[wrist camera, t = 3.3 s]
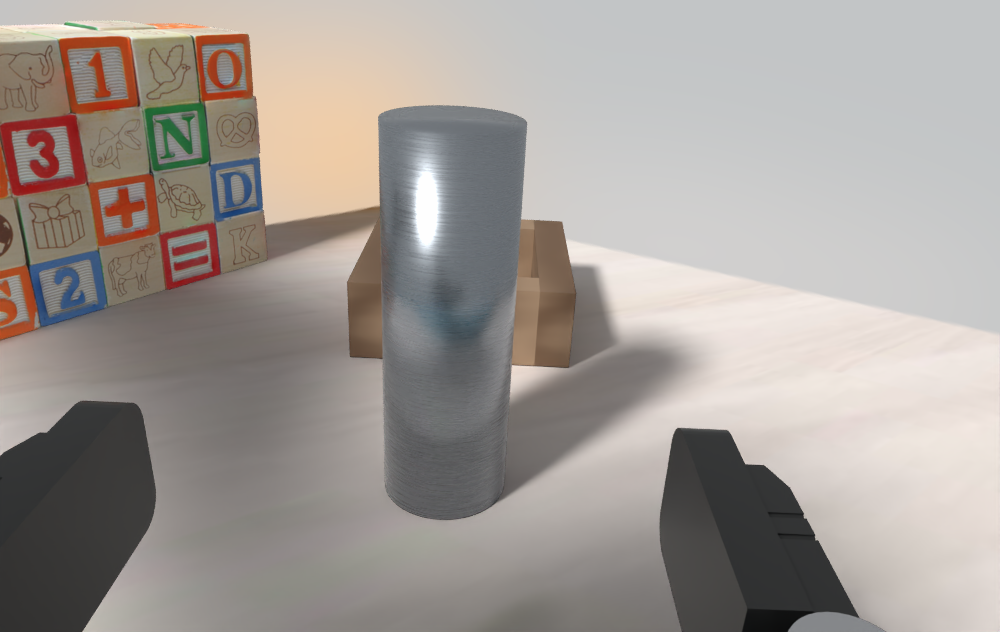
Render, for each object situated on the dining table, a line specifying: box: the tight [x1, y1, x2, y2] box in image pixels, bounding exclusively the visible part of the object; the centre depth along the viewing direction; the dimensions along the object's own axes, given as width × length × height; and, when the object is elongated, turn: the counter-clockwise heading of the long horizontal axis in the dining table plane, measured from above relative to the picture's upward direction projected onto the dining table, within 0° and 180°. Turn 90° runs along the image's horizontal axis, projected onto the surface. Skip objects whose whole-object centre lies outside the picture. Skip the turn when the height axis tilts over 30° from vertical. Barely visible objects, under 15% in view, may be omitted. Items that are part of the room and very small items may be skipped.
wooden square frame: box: [347, 217, 576, 367], centre depth 37 cm, size 10×10×4 cm
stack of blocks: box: [0, 21, 267, 340], centre depth 34 cm, size 21×6×12 cm, turn 142°
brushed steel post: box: [378, 105, 527, 519], centre depth 23 cm, size 4×4×12 cm
